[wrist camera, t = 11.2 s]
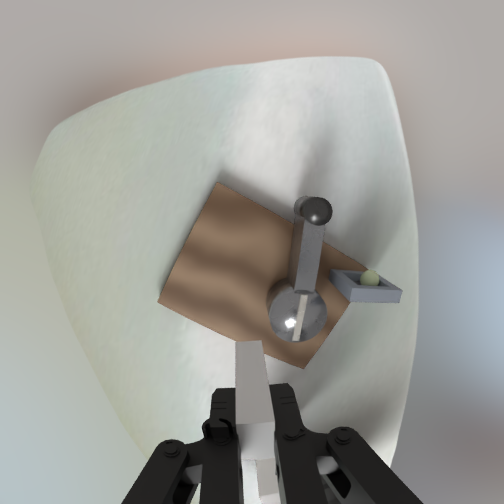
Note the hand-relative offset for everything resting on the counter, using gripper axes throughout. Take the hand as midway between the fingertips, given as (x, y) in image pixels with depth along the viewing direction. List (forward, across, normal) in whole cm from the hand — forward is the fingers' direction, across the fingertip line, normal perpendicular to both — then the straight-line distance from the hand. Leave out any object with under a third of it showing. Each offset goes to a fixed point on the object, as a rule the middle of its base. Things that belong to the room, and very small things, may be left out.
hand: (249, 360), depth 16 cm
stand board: (+22, +3, -3) cm, 23 cm away
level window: (+21, +15, -2) cm, 26 cm away
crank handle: (+21, +7, 0) cm, 22 cm away
